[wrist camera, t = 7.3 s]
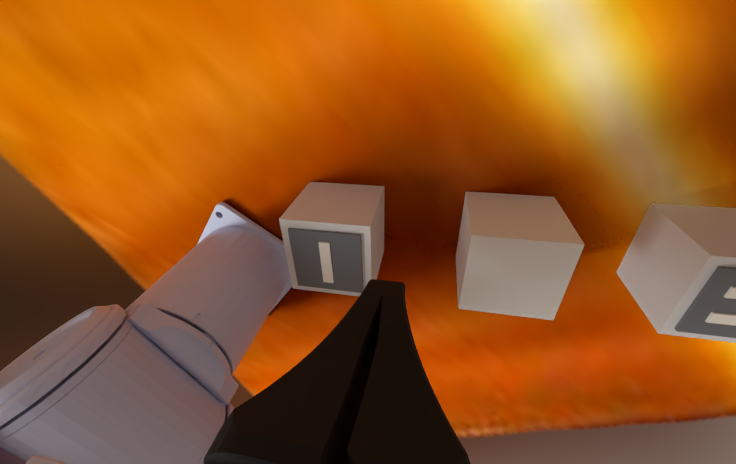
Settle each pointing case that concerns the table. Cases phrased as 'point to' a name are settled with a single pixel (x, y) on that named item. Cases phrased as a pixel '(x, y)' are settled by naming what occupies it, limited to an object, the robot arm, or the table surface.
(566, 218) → the plain block
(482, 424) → the table surface
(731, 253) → the marked block 2
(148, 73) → the table surface
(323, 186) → the marked block 1
